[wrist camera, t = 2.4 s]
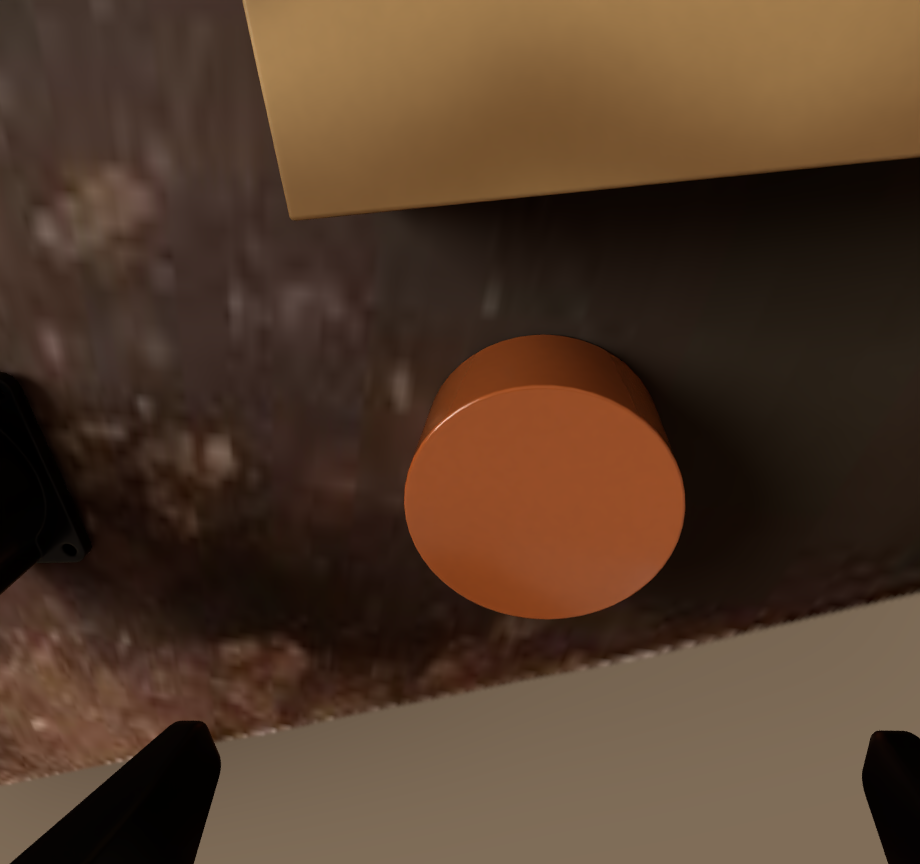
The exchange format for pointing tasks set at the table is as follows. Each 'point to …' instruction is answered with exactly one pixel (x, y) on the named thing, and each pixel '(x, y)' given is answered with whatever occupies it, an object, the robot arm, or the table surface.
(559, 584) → the orange cylinder puck
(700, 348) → the table surface
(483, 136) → the maple stand
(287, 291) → the table surface
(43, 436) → the robot arm
